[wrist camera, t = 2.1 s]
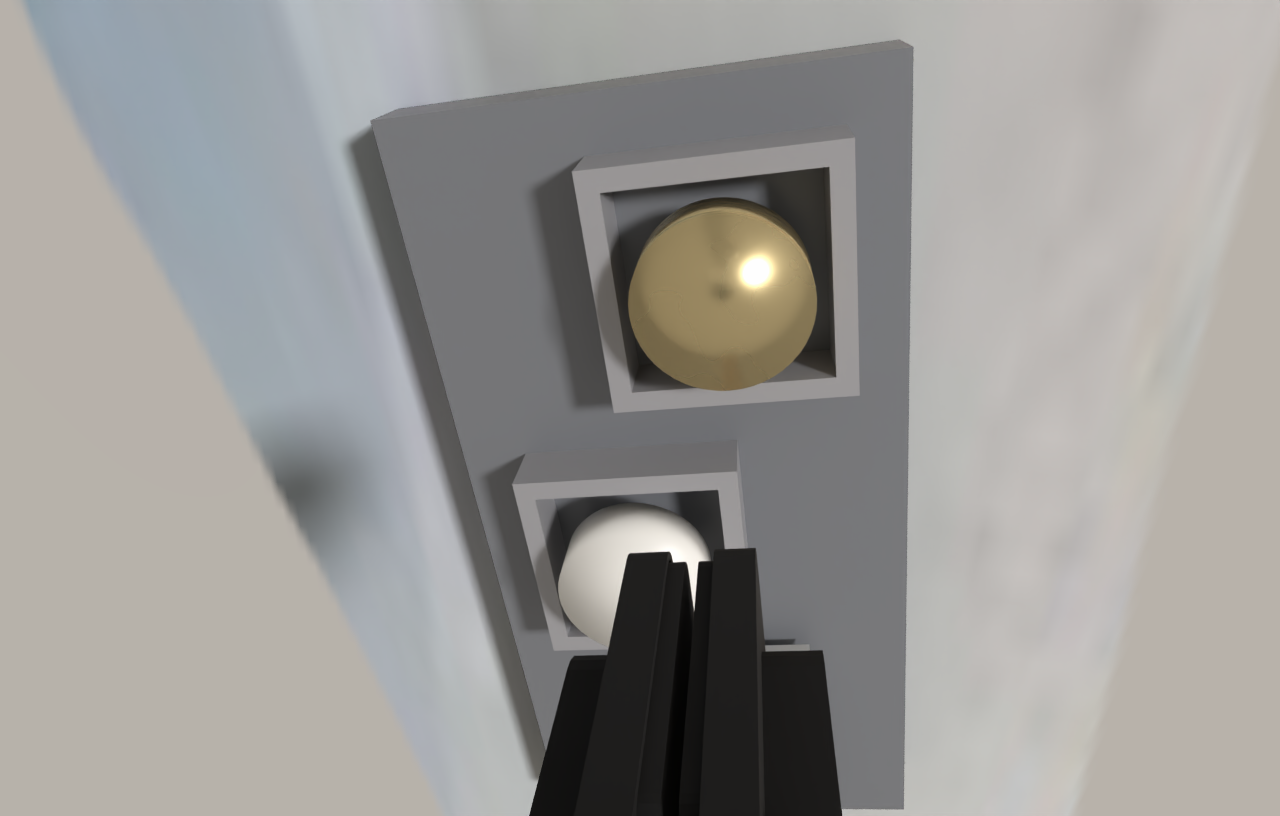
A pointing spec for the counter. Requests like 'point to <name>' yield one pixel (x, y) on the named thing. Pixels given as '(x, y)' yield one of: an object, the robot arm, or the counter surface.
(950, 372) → the counter surface
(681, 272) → the brass button
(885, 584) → the control panel
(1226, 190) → the counter surface
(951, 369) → the counter surface
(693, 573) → the white button
